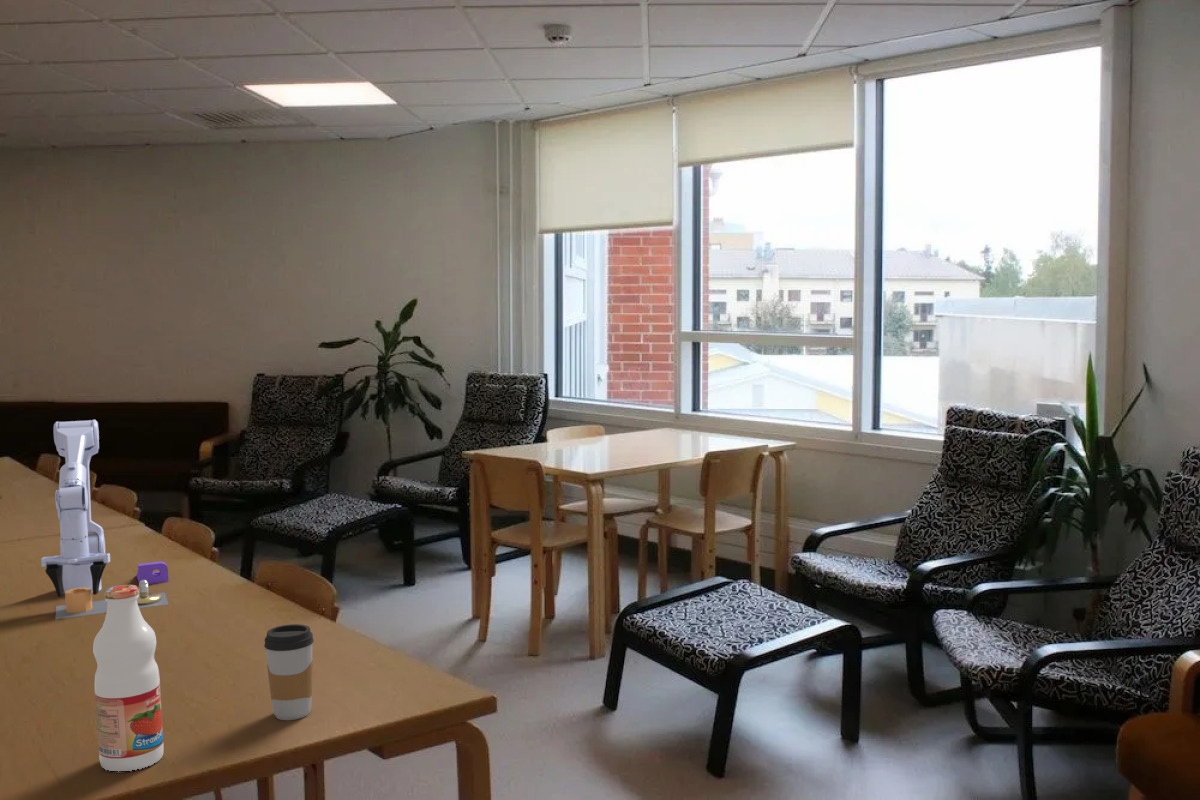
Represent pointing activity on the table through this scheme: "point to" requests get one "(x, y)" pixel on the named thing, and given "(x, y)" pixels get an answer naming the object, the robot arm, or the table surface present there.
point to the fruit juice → (127, 686)
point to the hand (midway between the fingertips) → (78, 594)
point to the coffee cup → (290, 670)
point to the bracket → (147, 572)
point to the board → (101, 608)
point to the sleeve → (78, 600)
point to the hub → (146, 594)
